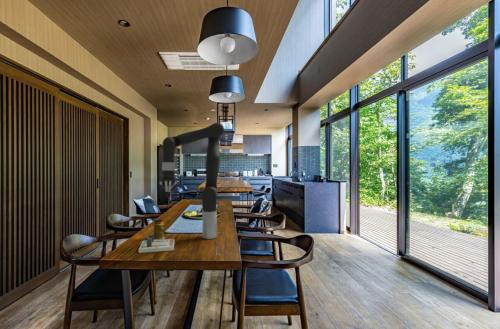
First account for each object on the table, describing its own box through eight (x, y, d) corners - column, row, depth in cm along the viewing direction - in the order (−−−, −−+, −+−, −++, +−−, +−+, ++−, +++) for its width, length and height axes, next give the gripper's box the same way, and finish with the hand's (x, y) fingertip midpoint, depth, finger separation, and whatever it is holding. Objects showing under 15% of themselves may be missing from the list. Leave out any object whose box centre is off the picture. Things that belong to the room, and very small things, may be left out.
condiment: (165, 238, 167) (165, 219, 167) (151, 240, 162) (151, 221, 162) (162, 235, 173) (162, 217, 173) (149, 237, 168) (149, 219, 168)
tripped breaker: (151, 245, 145) (151, 237, 145) (151, 246, 142) (151, 239, 142) (147, 245, 144) (147, 238, 144) (146, 246, 142) (146, 239, 142)
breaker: (153, 240, 153) (153, 233, 154) (153, 241, 151) (153, 234, 151) (149, 240, 153) (149, 234, 153) (148, 242, 150) (148, 235, 150)
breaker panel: (174, 242, 159) (174, 238, 159) (173, 250, 143) (173, 246, 143) (142, 244, 154) (143, 240, 154) (138, 253, 138) (138, 249, 138)
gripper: (179, 169, 165) (179, 196, 165) (157, 169, 162) (157, 197, 162) (179, 169, 158) (179, 198, 158) (156, 169, 155) (156, 198, 154)
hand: (168, 197), depth 160 cm, fingers closed
